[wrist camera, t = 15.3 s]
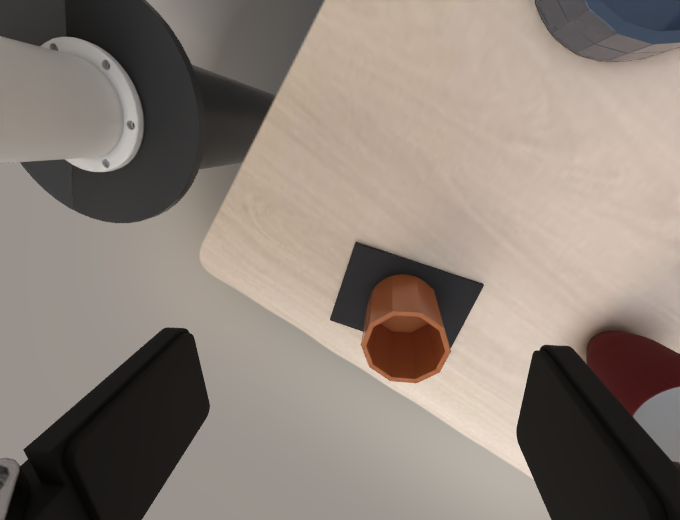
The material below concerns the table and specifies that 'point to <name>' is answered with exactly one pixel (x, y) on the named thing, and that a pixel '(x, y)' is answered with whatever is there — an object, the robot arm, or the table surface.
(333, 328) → the table surface
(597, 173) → the table surface
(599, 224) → the table surface
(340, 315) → the rubber mat
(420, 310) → the terracotta pot
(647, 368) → the mug
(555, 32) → the blue round bowl
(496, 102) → the table surface
